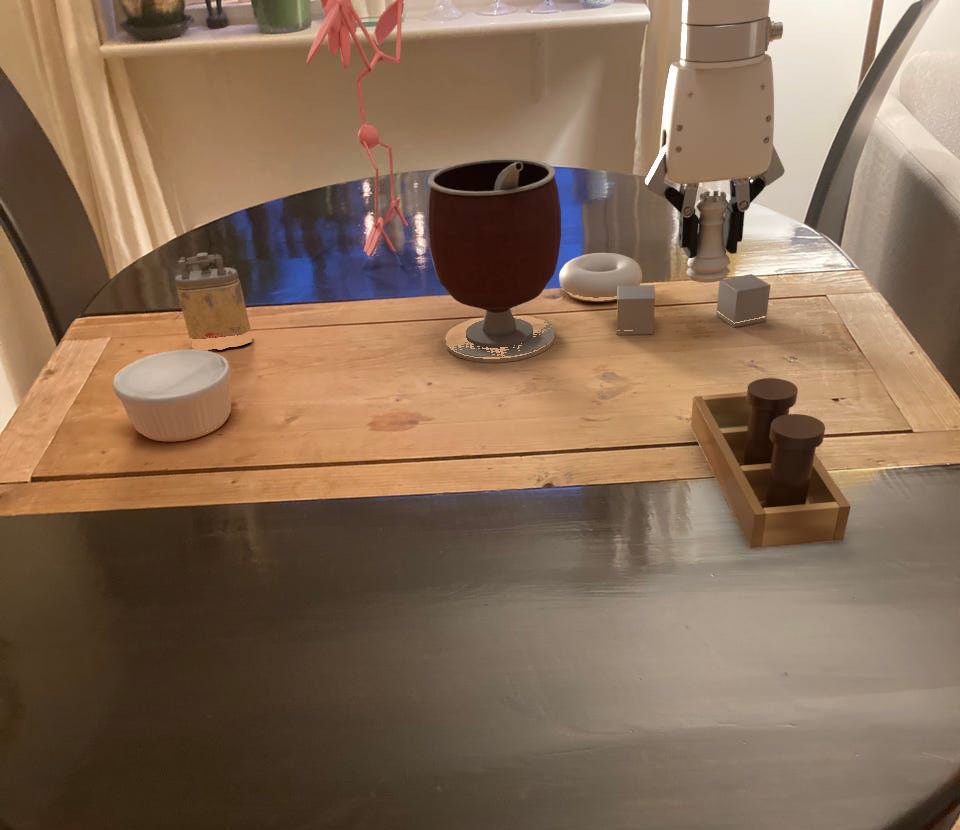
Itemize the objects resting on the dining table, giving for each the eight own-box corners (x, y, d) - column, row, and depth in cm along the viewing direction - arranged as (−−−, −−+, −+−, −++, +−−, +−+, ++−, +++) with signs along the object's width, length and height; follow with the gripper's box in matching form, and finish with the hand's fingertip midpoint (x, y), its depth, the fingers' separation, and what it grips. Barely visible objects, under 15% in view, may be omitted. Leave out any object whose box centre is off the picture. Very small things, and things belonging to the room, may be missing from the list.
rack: (766, 426, 87) (772, 389, 85) (842, 546, 72) (851, 505, 70) (689, 432, 87) (693, 396, 85) (749, 554, 72) (754, 514, 70)
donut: (639, 307, 111) (643, 275, 119) (640, 278, 109) (645, 247, 117) (554, 307, 113) (563, 276, 121) (554, 278, 111) (563, 248, 118)
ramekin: (233, 443, 91) (219, 391, 88) (116, 453, 91) (99, 402, 88) (247, 392, 100) (235, 343, 97) (140, 401, 100) (125, 353, 97)
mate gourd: (423, 329, 110) (403, 138, 97) (536, 308, 113) (531, 120, 100) (463, 381, 99) (446, 173, 86) (587, 356, 101) (589, 151, 89)
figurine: (435, 224, 141) (409, -71, 118) (394, 287, 121) (354, -51, 99) (335, 225, 143) (292, -63, 121) (280, 288, 124) (215, -42, 101)
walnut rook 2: (799, 502, 76) (816, 411, 71) (816, 530, 73) (834, 436, 68) (750, 507, 76) (762, 415, 71) (764, 534, 73) (778, 441, 68)
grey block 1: (652, 320, 108) (654, 284, 105) (653, 334, 105) (655, 298, 102) (616, 321, 109) (617, 285, 106) (616, 334, 105) (617, 299, 103)
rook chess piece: (720, 266, 101) (726, 185, 96) (736, 280, 98) (743, 197, 93) (679, 272, 101) (683, 191, 96) (694, 286, 97) (699, 203, 92)
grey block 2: (747, 309, 109) (751, 273, 106) (766, 321, 106) (770, 285, 103) (715, 315, 108) (719, 279, 105) (733, 327, 105) (737, 291, 102)
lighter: (254, 335, 112) (235, 247, 106) (253, 348, 109) (233, 258, 103) (193, 342, 112) (170, 255, 105) (190, 355, 109) (166, 266, 102)
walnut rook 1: (776, 464, 81) (790, 375, 76) (791, 488, 78) (806, 397, 73) (729, 468, 81) (740, 379, 76) (742, 492, 78) (754, 401, 73)
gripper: (801, 27, 89) (778, 232, 101) (624, 46, 89) (622, 249, 101) (828, 39, 83) (801, 255, 95) (639, 59, 83) (635, 272, 95)
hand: (709, 249), depth 98 cm, fingers closed on rook chess piece, 3 cm apart
